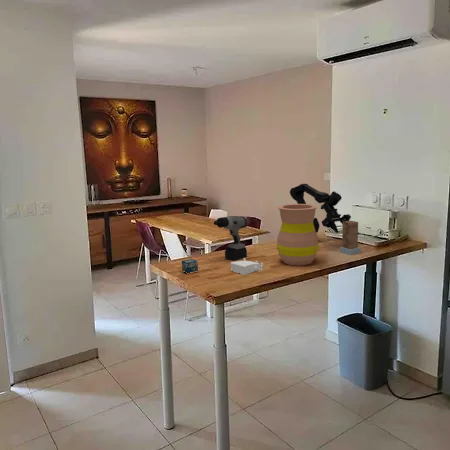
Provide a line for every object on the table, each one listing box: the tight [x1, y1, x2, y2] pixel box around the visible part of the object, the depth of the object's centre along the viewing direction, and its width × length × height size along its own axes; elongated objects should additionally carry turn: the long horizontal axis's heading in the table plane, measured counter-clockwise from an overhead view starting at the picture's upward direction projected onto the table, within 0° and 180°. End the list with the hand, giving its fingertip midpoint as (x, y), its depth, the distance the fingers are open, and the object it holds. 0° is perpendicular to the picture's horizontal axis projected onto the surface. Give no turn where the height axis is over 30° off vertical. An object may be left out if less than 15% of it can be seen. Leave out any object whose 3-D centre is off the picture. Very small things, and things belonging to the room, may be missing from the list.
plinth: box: [339, 246, 361, 256], centre depth 245 cm, size 8×8×3 cm
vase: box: [276, 203, 319, 266], centre depth 228 cm, size 22×22×30 cm
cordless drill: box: [213, 215, 248, 262], centre depth 237 cm, size 8×24×25 cm, turn 137°
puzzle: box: [181, 258, 199, 273], centre depth 218 cm, size 6×6×6 cm
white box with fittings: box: [230, 257, 264, 276], centre depth 217 cm, size 8×20×16 cm
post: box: [341, 220, 359, 249], centre depth 243 cm, size 6×6×15 cm
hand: (343, 231), depth 247 cm, fingers open, 9 cm apart
